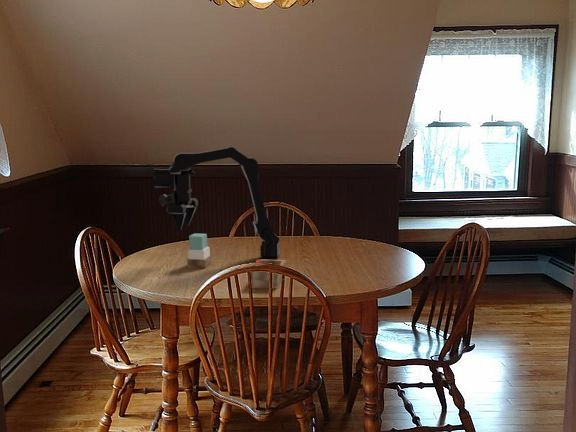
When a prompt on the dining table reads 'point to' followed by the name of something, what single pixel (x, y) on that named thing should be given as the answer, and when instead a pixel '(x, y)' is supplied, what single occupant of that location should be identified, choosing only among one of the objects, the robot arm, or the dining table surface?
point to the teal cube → (198, 241)
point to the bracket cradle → (267, 276)
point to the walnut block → (199, 263)
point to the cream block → (199, 254)
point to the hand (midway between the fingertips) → (183, 228)
